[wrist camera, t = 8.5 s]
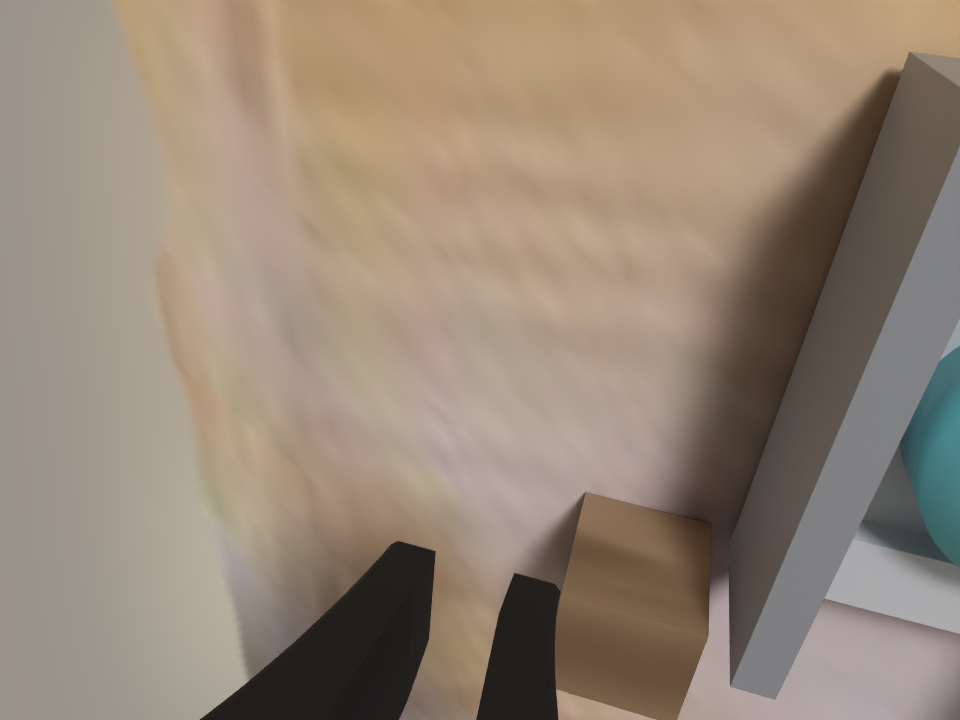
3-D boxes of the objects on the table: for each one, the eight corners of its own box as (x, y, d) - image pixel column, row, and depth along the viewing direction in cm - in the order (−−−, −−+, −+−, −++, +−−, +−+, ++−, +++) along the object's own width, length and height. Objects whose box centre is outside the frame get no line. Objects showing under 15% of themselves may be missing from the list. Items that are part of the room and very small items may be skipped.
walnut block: (681, 609, 23) (674, 724, 20) (567, 577, 24) (542, 684, 20) (710, 523, 21) (708, 636, 18) (585, 492, 22) (561, 594, 18)
